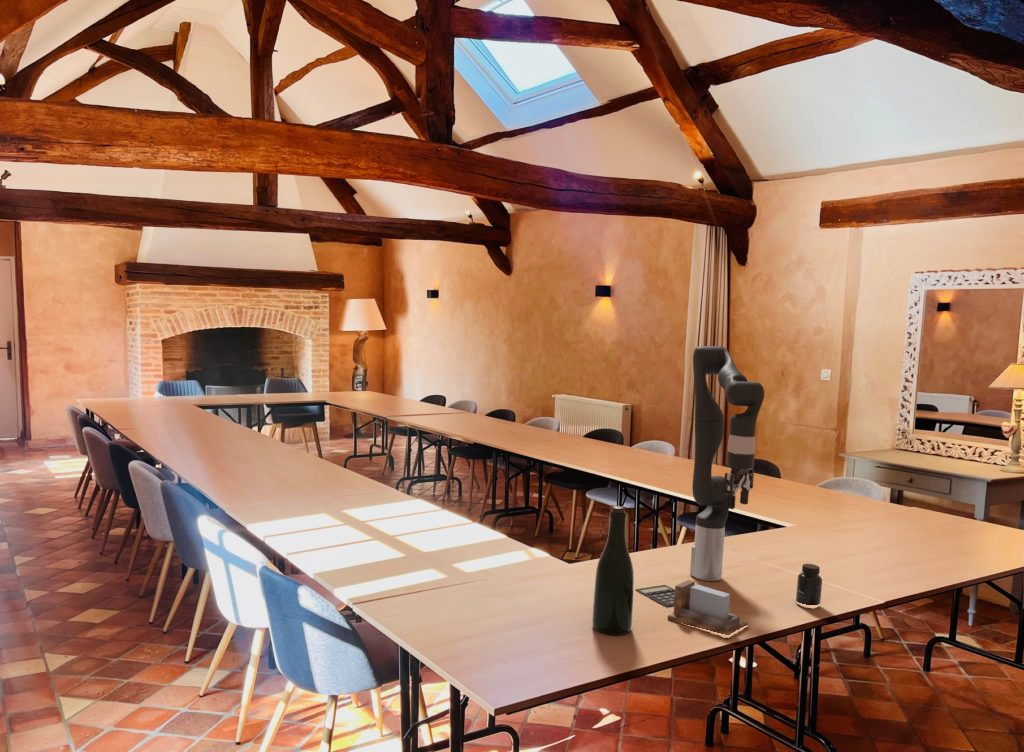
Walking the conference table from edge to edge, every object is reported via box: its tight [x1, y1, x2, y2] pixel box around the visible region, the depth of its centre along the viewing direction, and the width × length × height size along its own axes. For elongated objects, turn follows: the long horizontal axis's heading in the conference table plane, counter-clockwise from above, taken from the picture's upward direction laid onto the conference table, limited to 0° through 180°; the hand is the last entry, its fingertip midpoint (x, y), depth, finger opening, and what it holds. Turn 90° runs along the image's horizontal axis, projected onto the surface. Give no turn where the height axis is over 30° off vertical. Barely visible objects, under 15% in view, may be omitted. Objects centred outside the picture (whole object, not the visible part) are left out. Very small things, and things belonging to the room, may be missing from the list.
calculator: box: [635, 584, 675, 608], centre depth 233 cm, size 12×1×15 cm
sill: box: [667, 579, 749, 635], centre depth 213 cm, size 18×12×9 cm, turn 48°
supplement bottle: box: [795, 563, 823, 605], centre depth 230 cm, size 7×7×12 cm
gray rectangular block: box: [689, 584, 731, 621], centre depth 213 cm, size 10×4×8 cm, turn 48°
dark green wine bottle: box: [591, 505, 635, 636], centre depth 205 cm, size 10×10×33 cm
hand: (737, 506), depth 223 cm, fingers open, 8 cm apart
